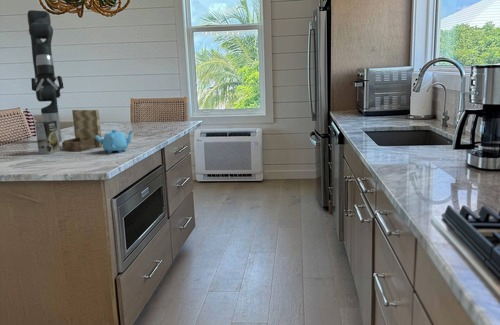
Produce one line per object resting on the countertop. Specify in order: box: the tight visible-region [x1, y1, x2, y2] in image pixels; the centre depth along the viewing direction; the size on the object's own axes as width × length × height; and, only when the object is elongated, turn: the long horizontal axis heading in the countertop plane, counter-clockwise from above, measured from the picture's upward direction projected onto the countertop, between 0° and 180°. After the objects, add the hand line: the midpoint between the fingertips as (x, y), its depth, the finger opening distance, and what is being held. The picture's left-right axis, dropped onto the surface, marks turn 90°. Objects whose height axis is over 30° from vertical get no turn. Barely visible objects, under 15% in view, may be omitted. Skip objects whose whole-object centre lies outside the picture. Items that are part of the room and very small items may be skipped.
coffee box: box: [34, 121, 61, 155], centre depth 224 cm, size 9×6×16 cm
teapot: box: [95, 129, 135, 154], centre depth 221 cm, size 15×14×11 cm
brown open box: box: [61, 137, 98, 152], centre depth 233 cm, size 12×12×5 cm
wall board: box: [71, 109, 103, 148], centre depth 237 cm, size 16×2×20 cm, turn 69°
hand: (49, 98), depth 213 cm, fingers open, 8 cm apart
